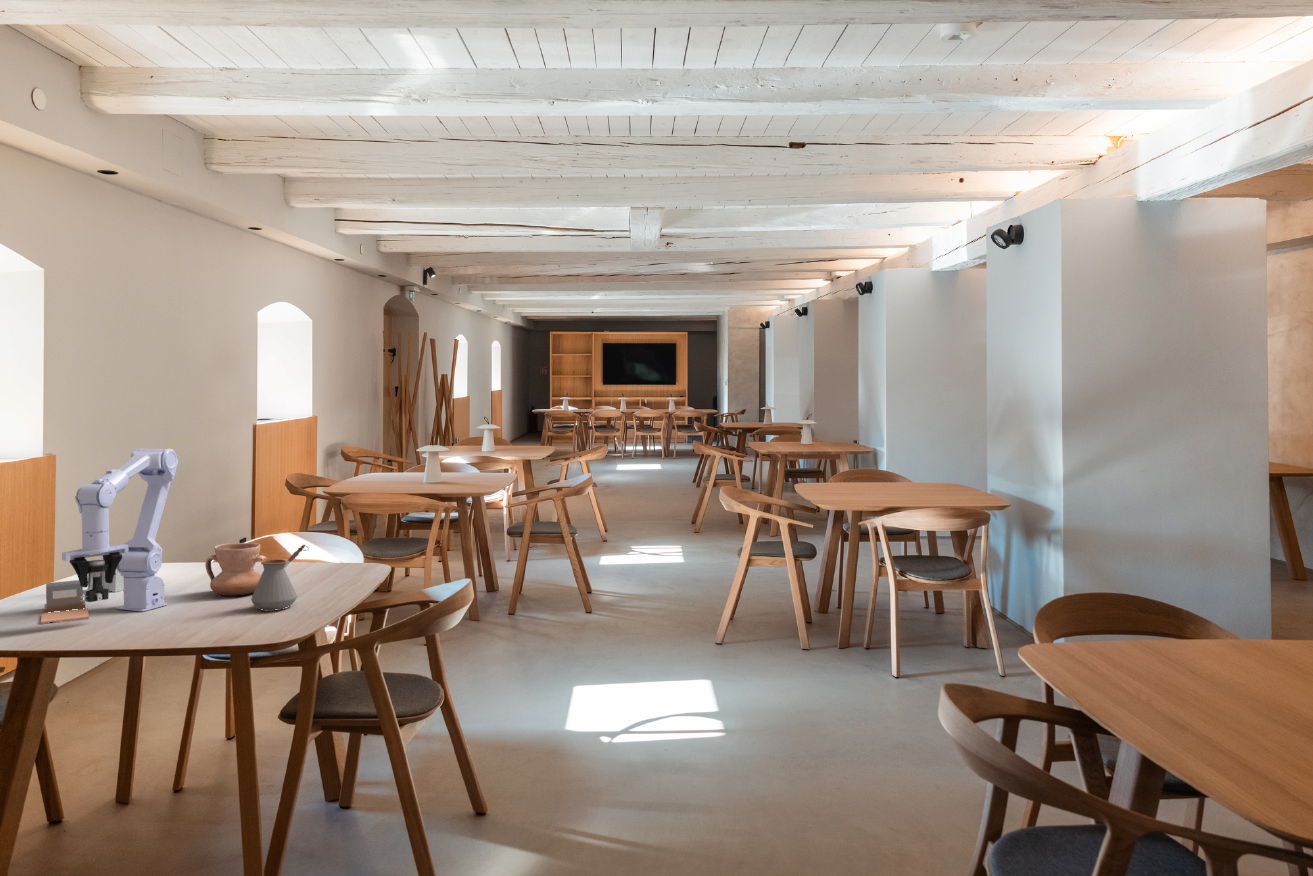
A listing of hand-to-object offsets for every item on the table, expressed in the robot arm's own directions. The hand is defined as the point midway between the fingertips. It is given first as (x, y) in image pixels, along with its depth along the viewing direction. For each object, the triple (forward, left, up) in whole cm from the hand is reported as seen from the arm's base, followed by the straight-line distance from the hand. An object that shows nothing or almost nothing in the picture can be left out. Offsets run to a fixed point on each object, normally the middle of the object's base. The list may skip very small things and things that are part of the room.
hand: (96, 584), depth 212 cm
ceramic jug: (-8, -38, -10) cm, 40 cm away
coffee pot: (-30, -32, -10) cm, 45 cm away
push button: (0, +1, -4) cm, 4 cm away
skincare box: (+28, -30, -10) cm, 42 cm away
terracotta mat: (+13, -2, -10) cm, 16 cm away
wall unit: (+21, -8, -10) cm, 25 cm away
